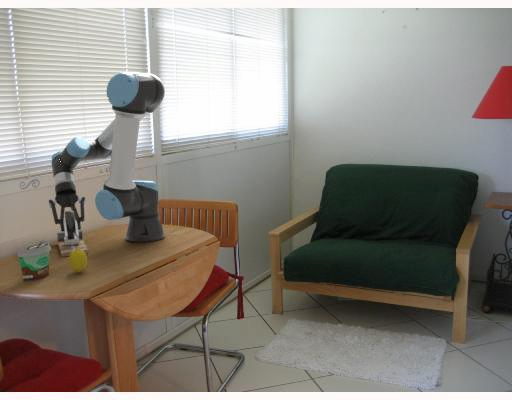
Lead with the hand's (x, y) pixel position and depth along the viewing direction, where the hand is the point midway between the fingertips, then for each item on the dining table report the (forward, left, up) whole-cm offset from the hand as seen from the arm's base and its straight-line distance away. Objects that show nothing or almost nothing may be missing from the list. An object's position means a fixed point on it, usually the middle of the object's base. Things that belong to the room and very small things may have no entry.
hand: (72, 237), depth 198 cm
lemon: (-25, +15, -5) cm, 29 cm away
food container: (-18, +24, -5) cm, 30 cm away
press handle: (+3, -2, -3) cm, 5 cm away
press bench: (+3, -2, -5) cm, 6 cm away
